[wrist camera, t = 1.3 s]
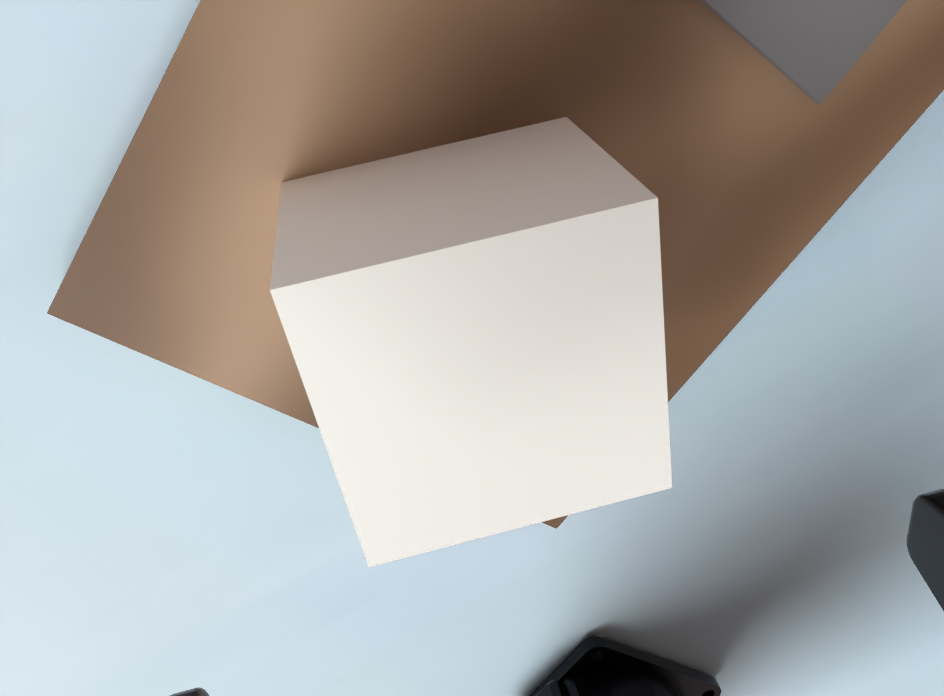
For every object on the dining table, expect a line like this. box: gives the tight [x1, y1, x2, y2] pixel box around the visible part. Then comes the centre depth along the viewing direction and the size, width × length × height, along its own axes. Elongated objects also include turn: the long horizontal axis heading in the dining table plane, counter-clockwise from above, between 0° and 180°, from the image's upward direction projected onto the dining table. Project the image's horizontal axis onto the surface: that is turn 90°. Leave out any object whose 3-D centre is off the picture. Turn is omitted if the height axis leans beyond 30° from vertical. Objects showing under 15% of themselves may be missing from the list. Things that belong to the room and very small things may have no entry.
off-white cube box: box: [270, 117, 672, 567], centre depth 15 cm, size 6×6×5 cm
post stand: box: [47, 0, 944, 529], centre depth 14 cm, size 14×22×4 cm, turn 145°
